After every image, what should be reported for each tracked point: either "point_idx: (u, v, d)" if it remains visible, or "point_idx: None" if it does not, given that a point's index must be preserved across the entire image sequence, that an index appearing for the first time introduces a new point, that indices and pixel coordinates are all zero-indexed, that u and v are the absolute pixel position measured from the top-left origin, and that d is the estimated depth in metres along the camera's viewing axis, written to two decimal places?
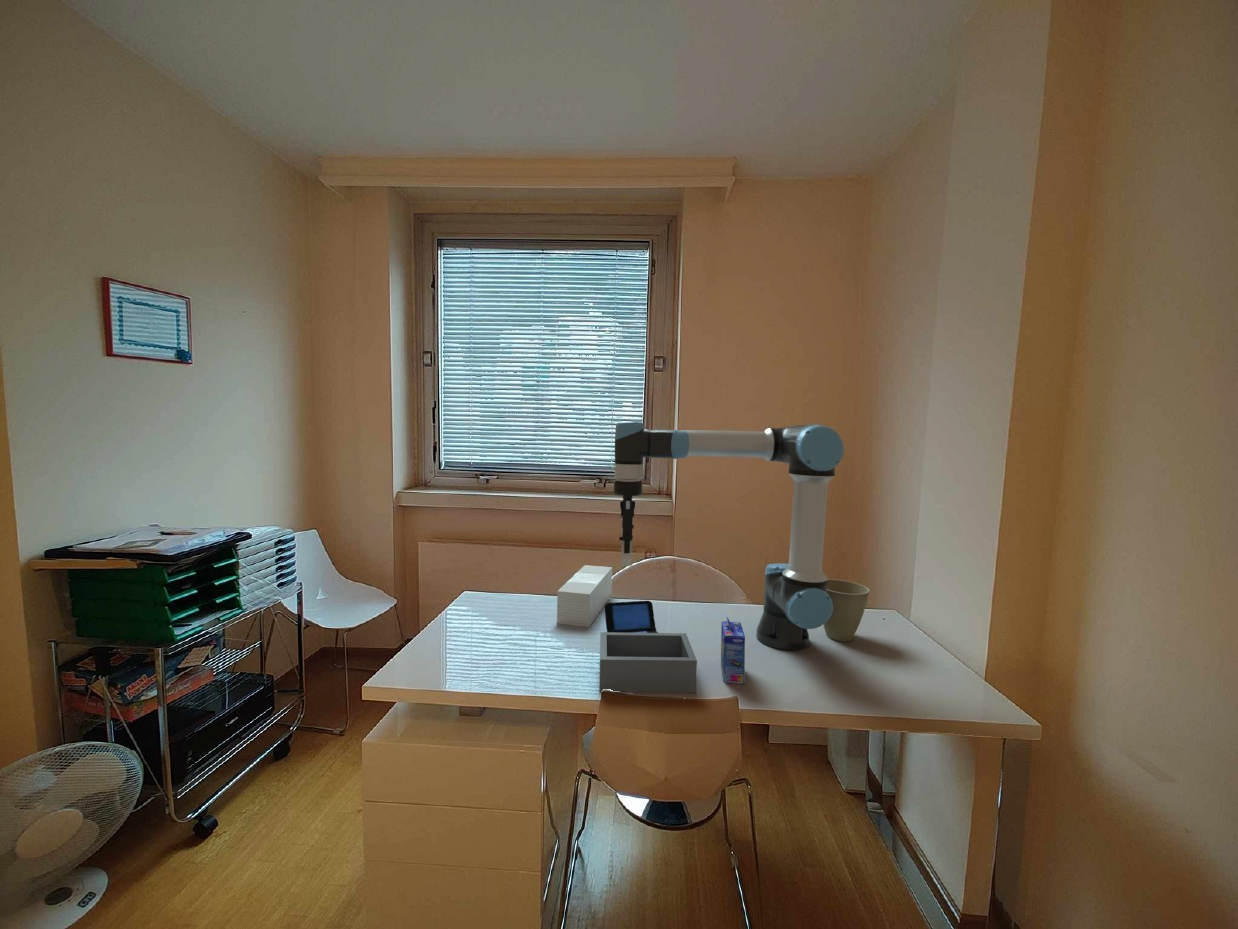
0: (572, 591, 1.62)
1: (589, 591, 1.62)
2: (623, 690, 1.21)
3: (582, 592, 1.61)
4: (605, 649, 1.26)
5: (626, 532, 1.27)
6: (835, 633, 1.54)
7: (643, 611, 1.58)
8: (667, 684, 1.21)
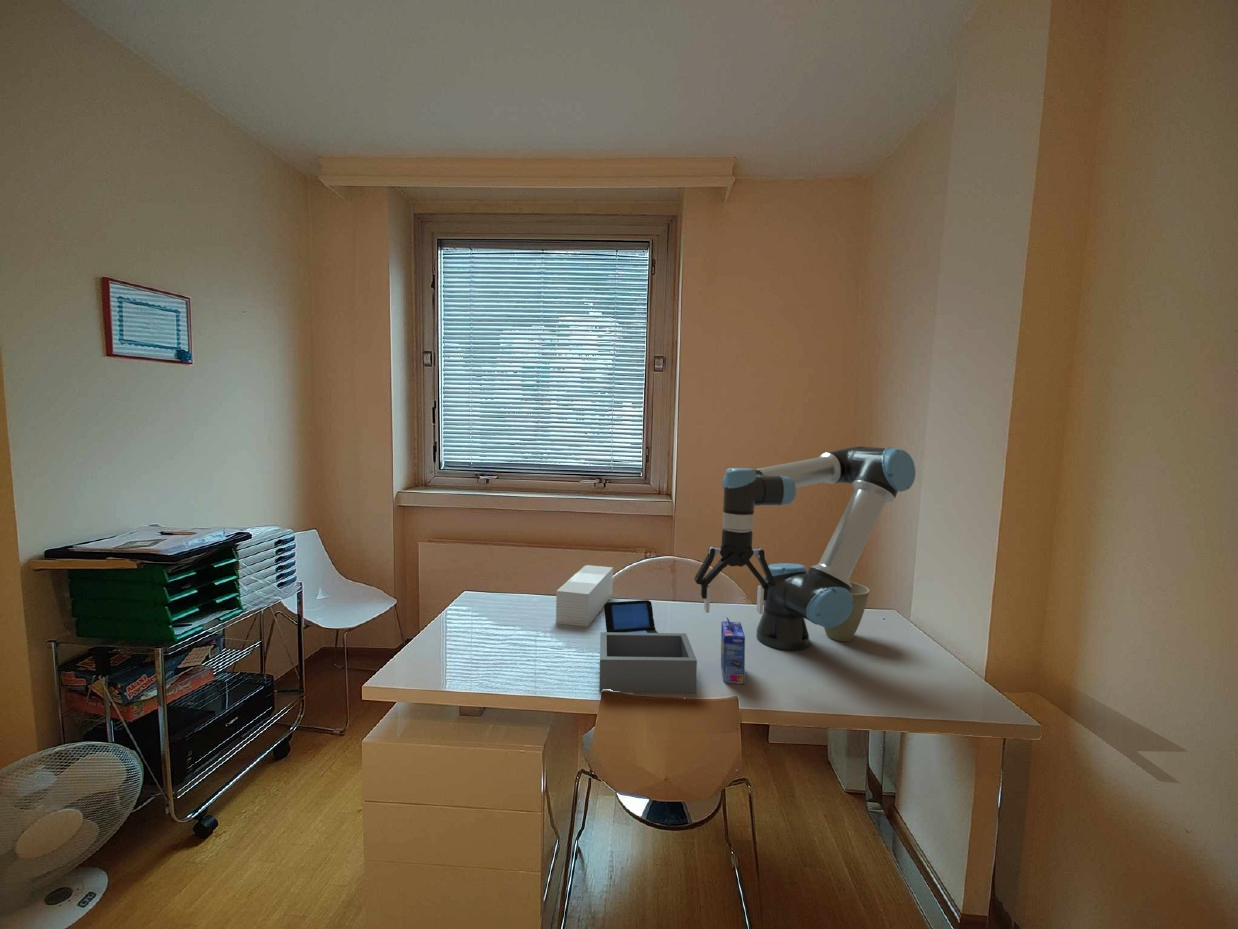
0: (571, 591, 1.62)
1: (588, 591, 1.62)
2: (623, 690, 1.21)
3: (581, 592, 1.61)
4: (605, 649, 1.26)
5: (697, 575, 1.29)
6: (835, 633, 1.54)
7: (642, 611, 1.58)
8: (667, 684, 1.21)
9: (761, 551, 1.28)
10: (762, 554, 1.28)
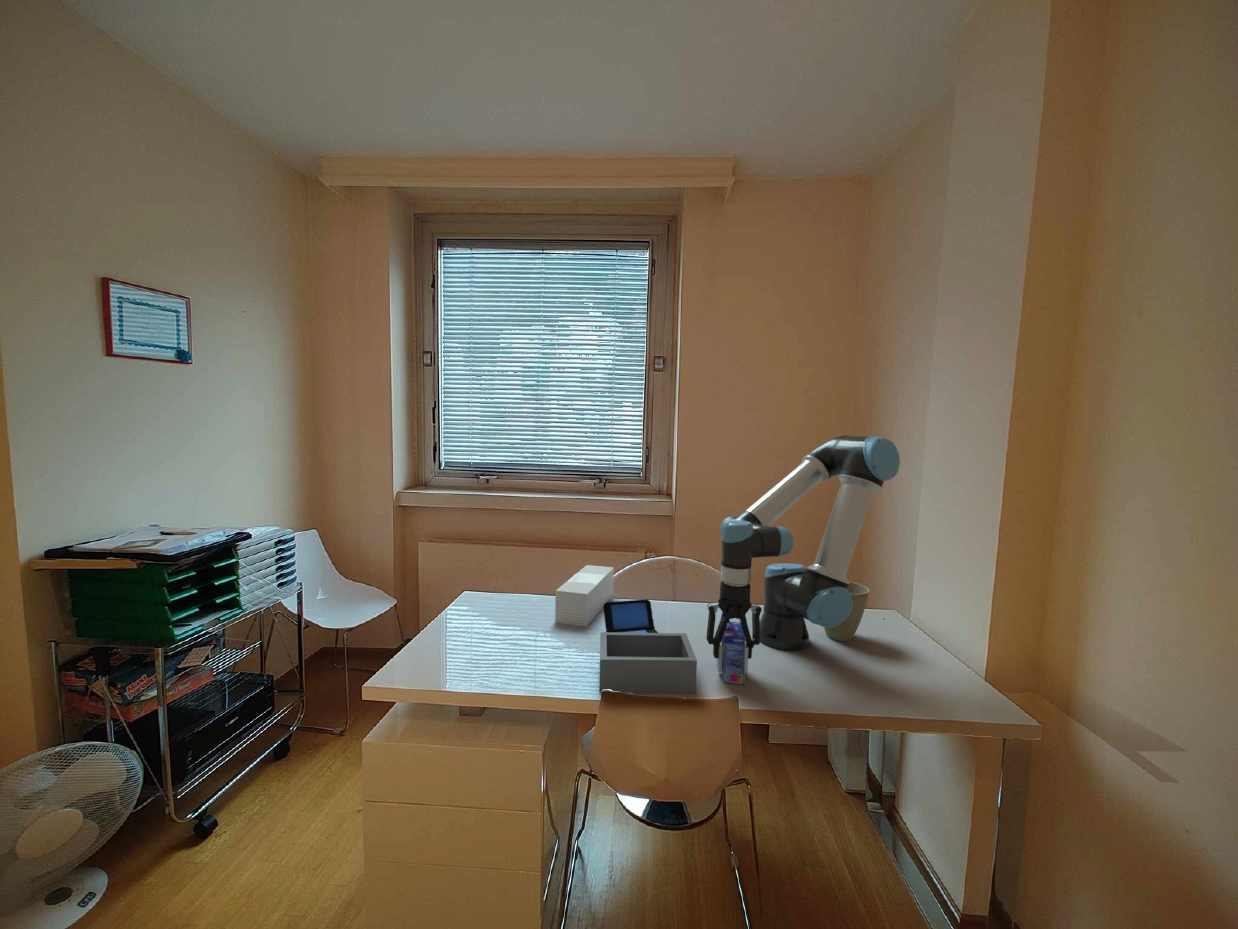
0: (570, 590, 1.62)
1: (587, 591, 1.62)
2: (623, 690, 1.21)
3: (580, 592, 1.61)
4: (605, 649, 1.26)
5: (707, 635, 1.30)
6: (835, 633, 1.54)
7: (641, 610, 1.59)
8: (667, 684, 1.21)
9: (759, 608, 1.29)
10: (758, 611, 1.29)
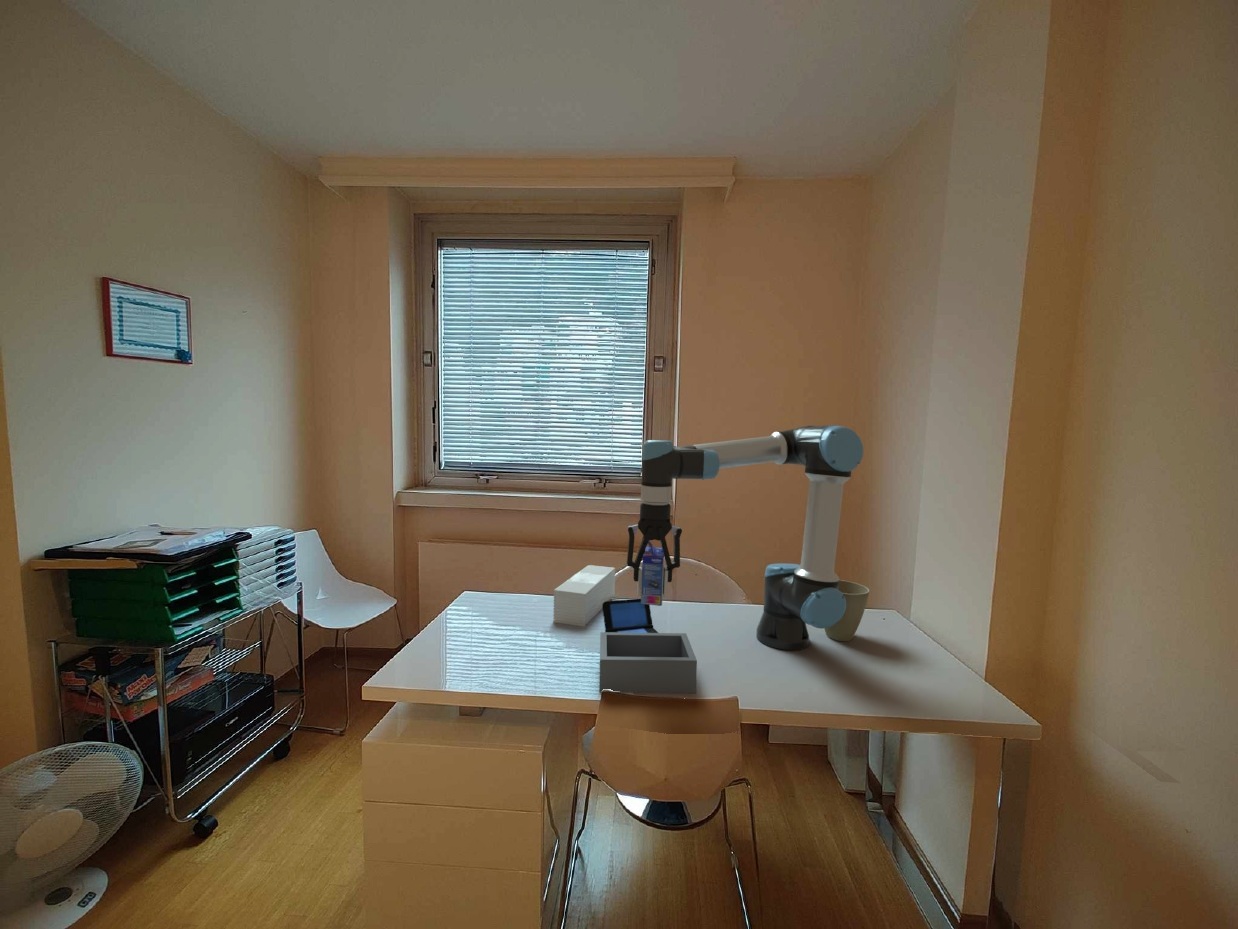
0: (568, 590, 1.62)
1: (585, 590, 1.62)
2: (623, 690, 1.21)
3: (578, 591, 1.61)
4: (605, 649, 1.26)
5: (627, 558, 1.27)
6: (835, 633, 1.54)
7: (640, 609, 1.60)
8: (667, 684, 1.21)
9: (679, 530, 1.25)
10: (679, 533, 1.25)
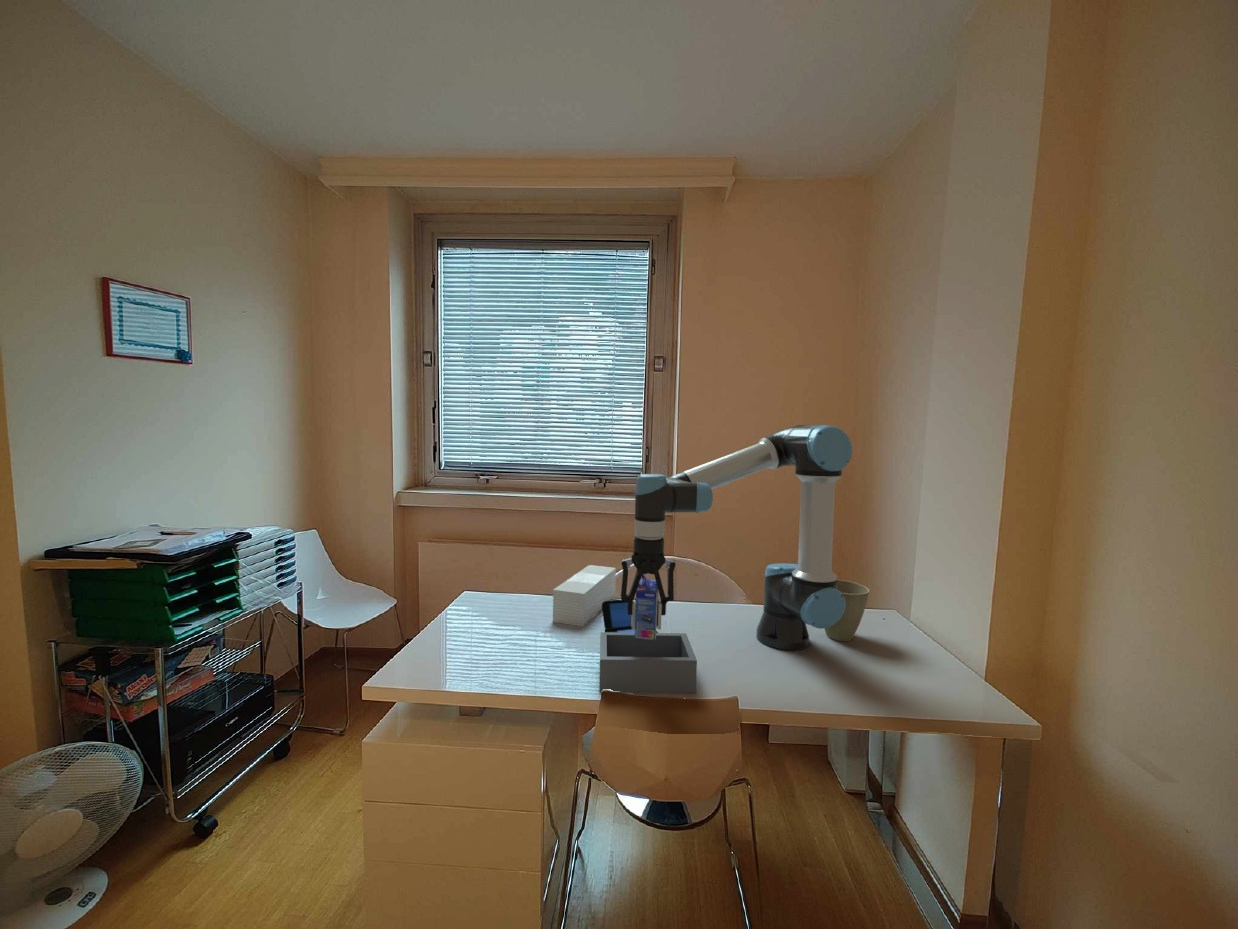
0: (567, 590, 1.63)
1: (584, 590, 1.62)
2: (623, 690, 1.21)
3: (577, 591, 1.61)
4: (605, 649, 1.26)
5: (621, 591, 1.27)
6: (835, 633, 1.54)
7: None
8: (667, 684, 1.21)
9: (672, 563, 1.26)
10: (672, 567, 1.26)
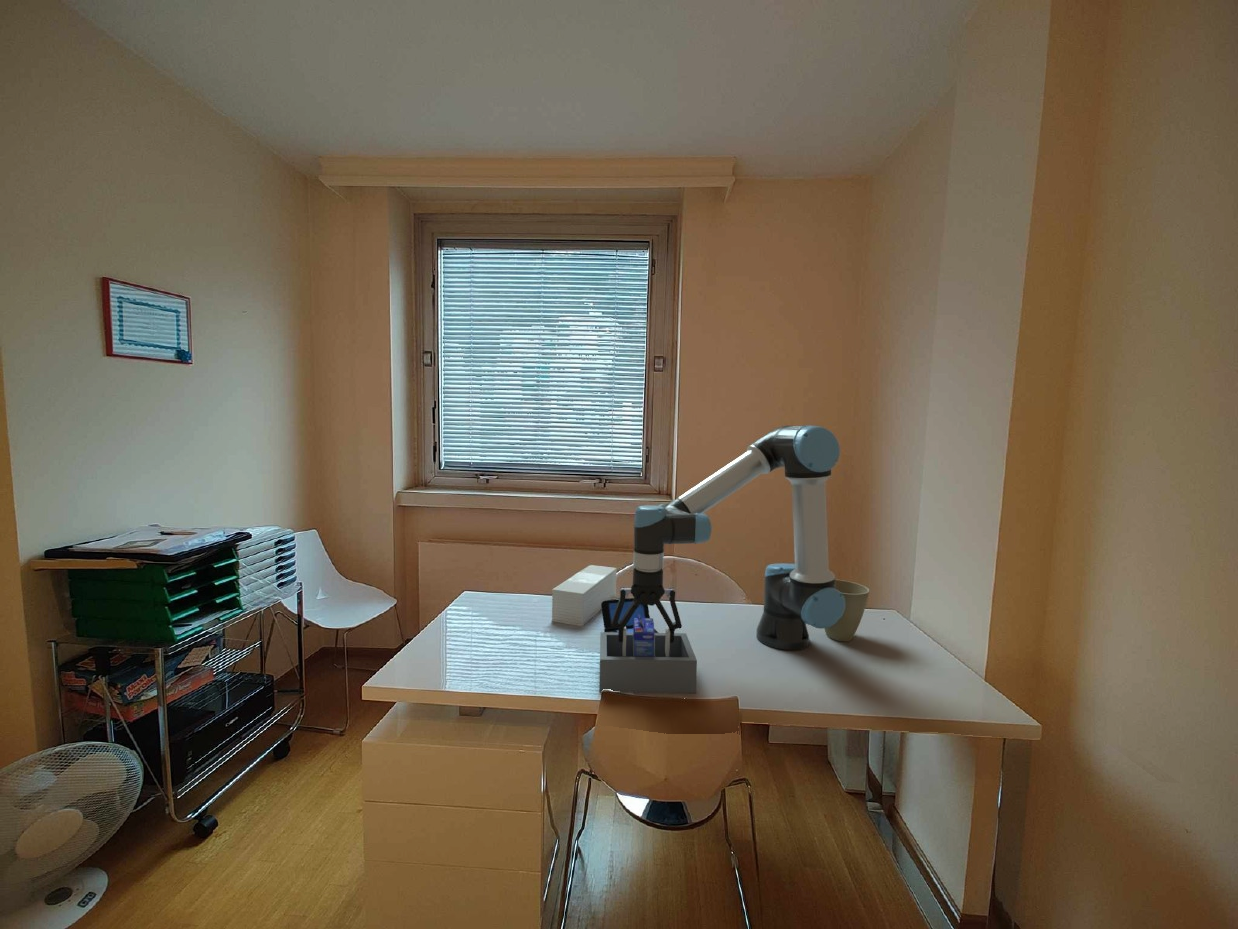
0: (566, 590, 1.63)
1: (583, 590, 1.63)
2: (623, 690, 1.21)
3: (576, 591, 1.61)
4: (605, 649, 1.26)
5: (613, 618, 1.28)
6: (835, 633, 1.54)
7: (638, 608, 1.61)
8: (667, 684, 1.21)
9: (672, 592, 1.26)
10: (672, 595, 1.26)
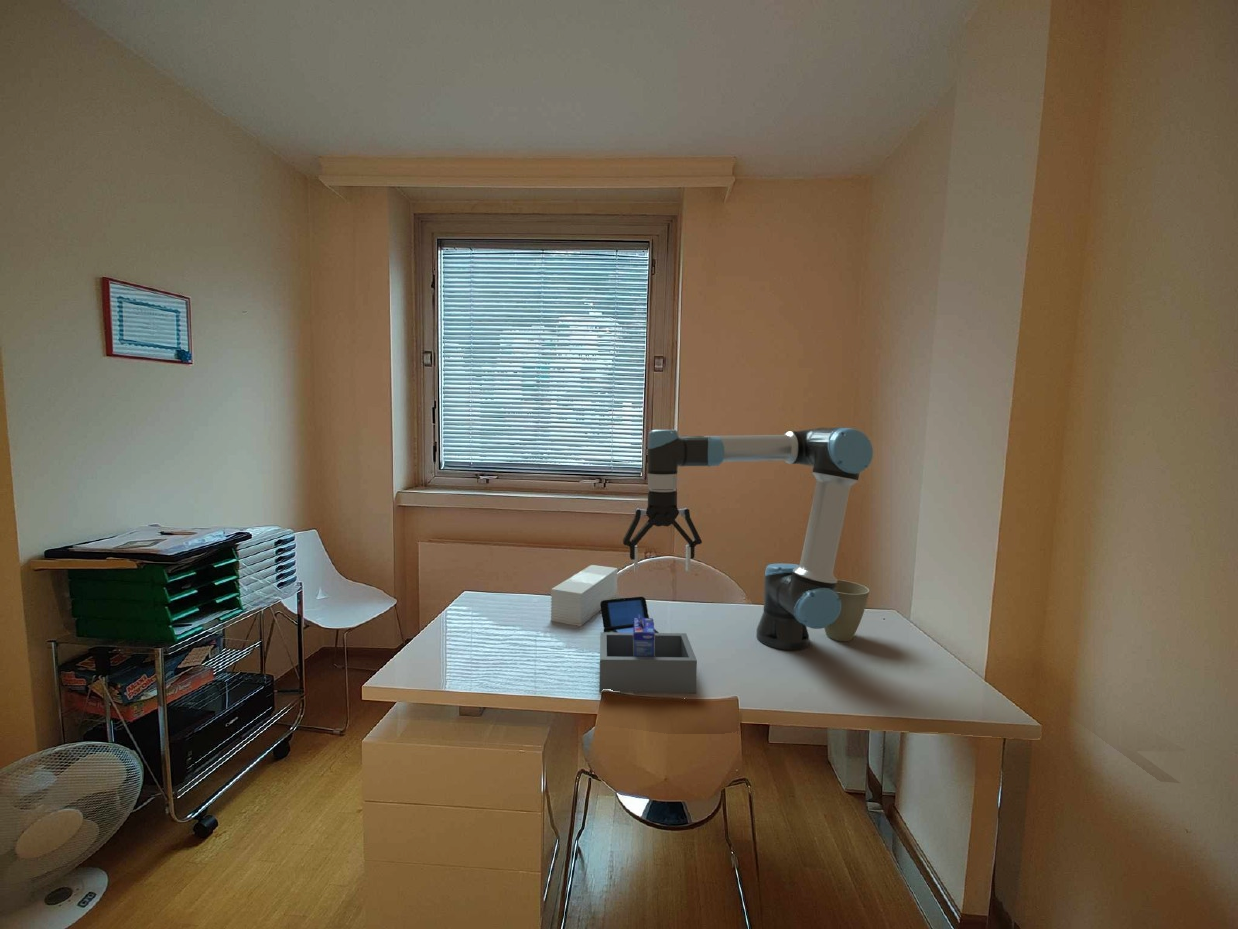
0: (565, 589, 1.63)
1: (582, 590, 1.63)
2: (623, 690, 1.21)
3: (575, 591, 1.62)
4: (605, 649, 1.26)
5: (625, 536, 1.31)
6: (835, 633, 1.54)
7: (637, 607, 1.61)
8: (667, 684, 1.21)
9: (686, 510, 1.30)
10: (687, 513, 1.30)
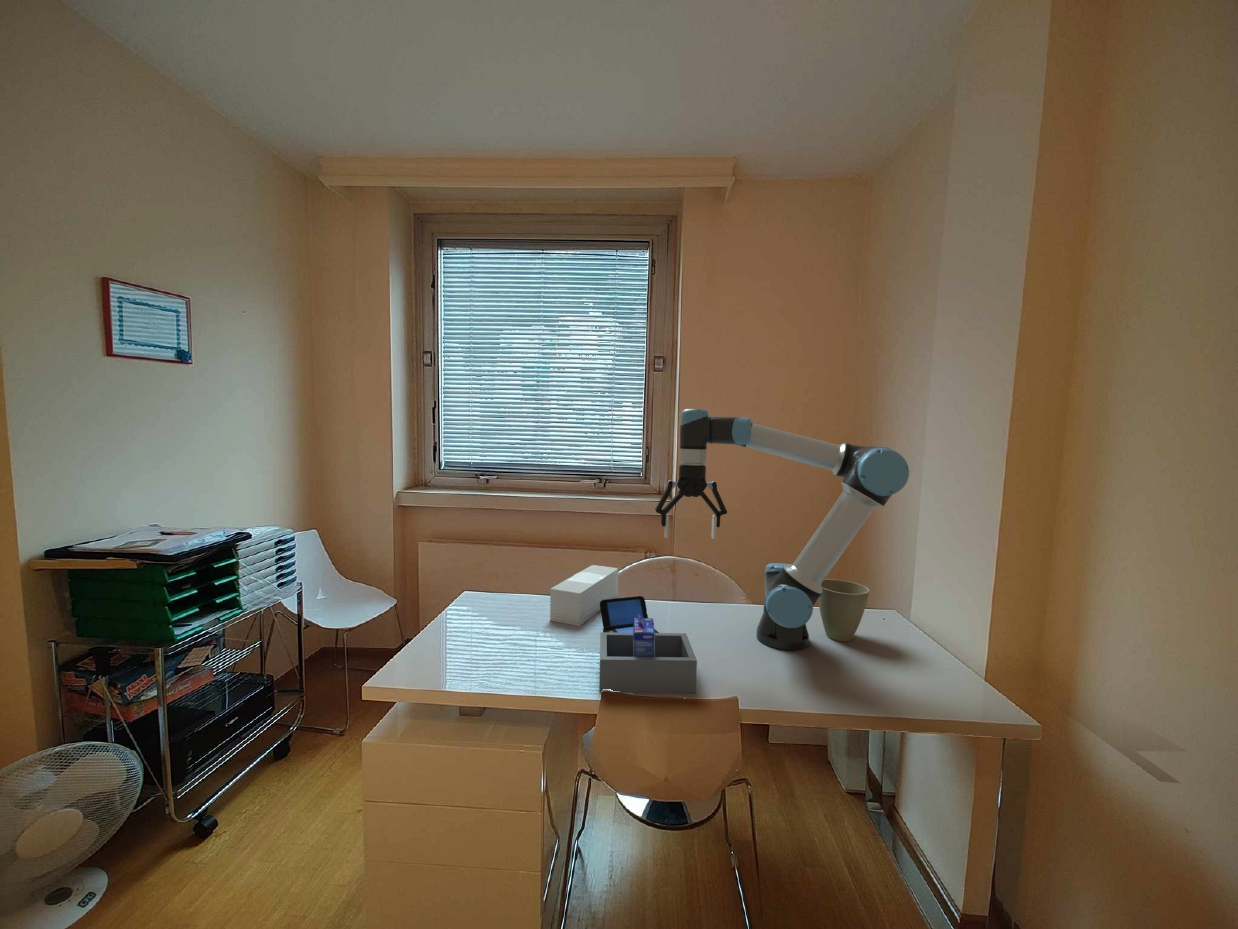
0: (564, 589, 1.63)
1: (581, 590, 1.63)
2: (623, 690, 1.21)
3: (574, 591, 1.62)
4: (605, 649, 1.26)
5: (657, 505, 1.45)
6: (835, 633, 1.54)
7: (636, 607, 1.62)
8: (667, 684, 1.21)
9: (714, 483, 1.43)
10: (715, 485, 1.44)
